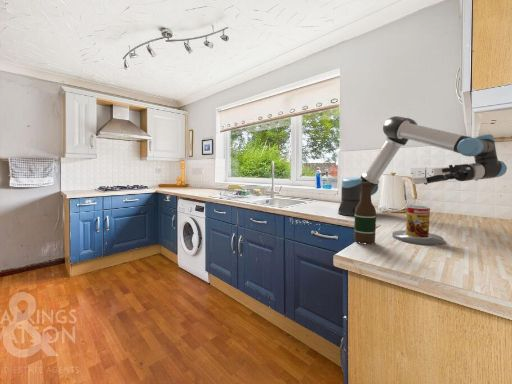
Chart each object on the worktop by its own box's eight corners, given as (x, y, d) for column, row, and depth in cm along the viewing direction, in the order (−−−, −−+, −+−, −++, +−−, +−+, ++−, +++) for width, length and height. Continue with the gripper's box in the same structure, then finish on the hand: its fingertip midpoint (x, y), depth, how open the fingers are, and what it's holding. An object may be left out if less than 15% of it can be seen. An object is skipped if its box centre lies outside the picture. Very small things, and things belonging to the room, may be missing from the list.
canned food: (417, 238, 100) (419, 208, 99) (401, 233, 107) (402, 206, 106) (433, 237, 102) (434, 207, 101) (416, 232, 109) (417, 205, 108)
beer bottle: (379, 244, 97) (382, 182, 95) (362, 245, 95) (365, 182, 93) (365, 238, 105) (367, 181, 103) (349, 240, 103) (351, 181, 100)
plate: (386, 238, 104) (386, 235, 104) (399, 230, 117) (399, 228, 117) (439, 248, 92) (439, 244, 92) (446, 238, 105) (447, 235, 105)
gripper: (497, 171, 99) (447, 176, 98) (448, 187, 123) (407, 192, 122) (491, 153, 101) (441, 158, 99) (444, 173, 125) (403, 177, 124)
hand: (422, 177), depth 111 cm, fingers open, 13 cm apart
